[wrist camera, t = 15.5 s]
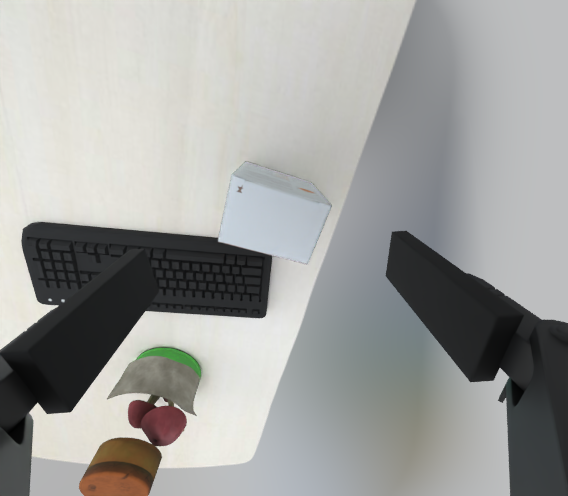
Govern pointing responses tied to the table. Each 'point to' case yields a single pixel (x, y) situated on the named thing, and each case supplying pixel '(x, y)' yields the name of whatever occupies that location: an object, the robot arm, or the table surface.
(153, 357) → the multicoloured stacked piece
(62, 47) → the table surface
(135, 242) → the keyboard
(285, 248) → the small box
